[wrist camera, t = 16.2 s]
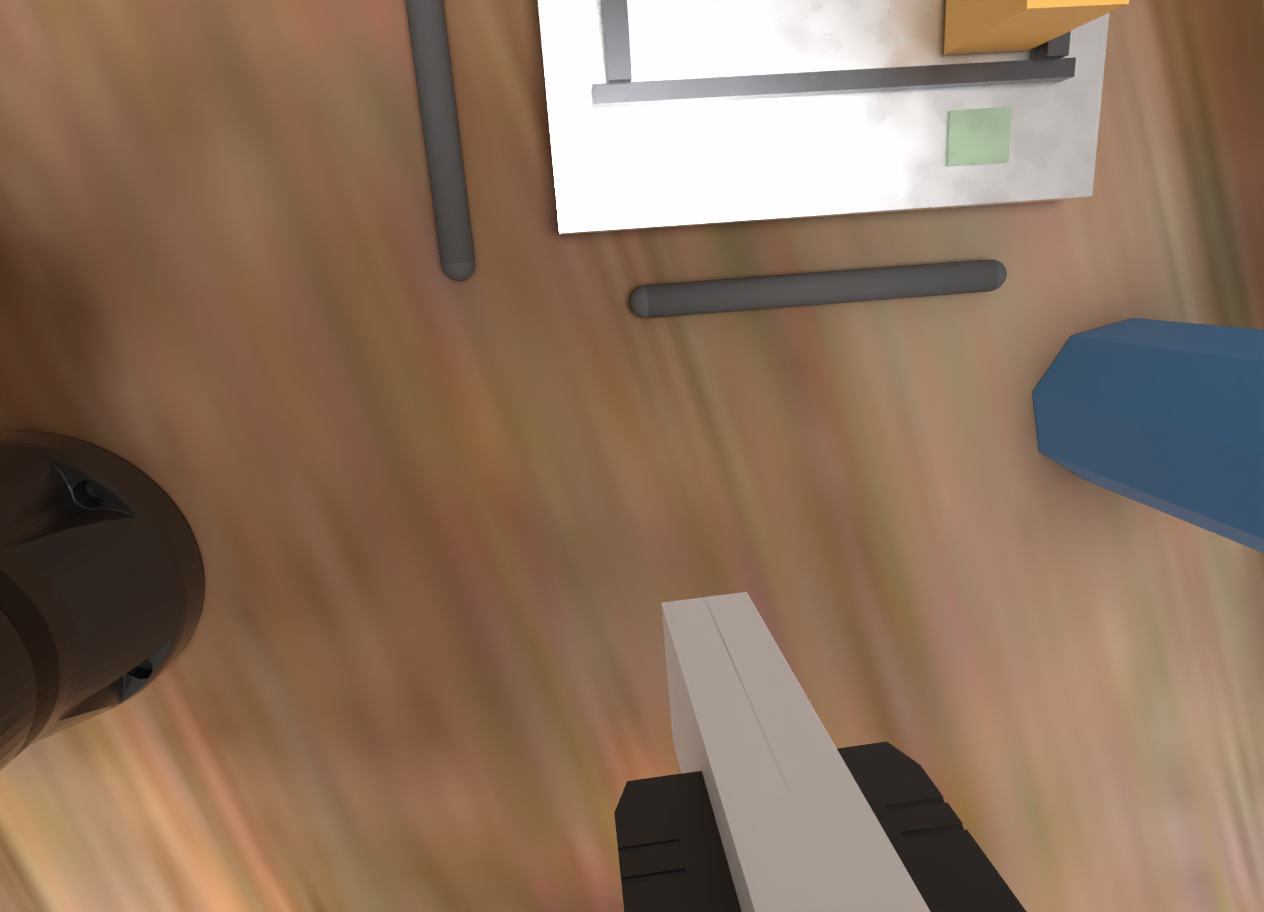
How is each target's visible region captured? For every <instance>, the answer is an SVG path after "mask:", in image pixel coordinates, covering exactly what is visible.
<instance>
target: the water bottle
mask: <svg viewBox="0 0 1264 912" xmlns="http://www.w3.org/2000/svg"><path fill="white" fill-rule="evenodd" d="M1032 394H1033V403H1034V412H1035V421H1036V429H1037V438H1038V447H1039V452H1041V453H1042V454H1044V455H1045V456H1047V457H1049V458H1050V459H1052V460H1054V461H1055V462H1057V463H1058V464H1060V465H1062V466H1063V467H1065V468H1066V469H1068V470H1070V471H1071V472H1073V473H1074V474H1076V475H1078V476H1079V477H1081V478H1083V479H1084V480H1086V481H1089V482H1091V483H1094V484H1096V485H1098V486H1101V487H1103V488H1106V489H1108V490H1111V491H1113V492H1116V493H1118V494H1120V495H1123V496H1125V497H1128V498H1130V499H1133V500H1135V501H1138V502H1140V503H1142V504H1145V505H1147V506H1150V507H1152V508H1155V509H1157V510H1160V511H1162V512H1164V513H1167V514H1169V515H1172V516H1174V517H1177V518H1179V519H1182V520H1184V521H1186V522H1189V523H1191V524H1194V525H1196V526H1199V527H1201V528H1204V529H1206V530H1208V531H1211V532H1213V533H1216V534H1218V535H1221V536H1223V537H1226V538H1228V539H1230V540H1233V541H1235V542H1238V543H1240V544H1243V545H1245V546H1248V547H1250V548H1252V549H1255V550H1257V551H1260V552H1262V553H1264V330H1259V329H1248V328H1237V327H1226V326H1215V325H1204V324H1192V323H1181V322H1170V321H1159V320H1148V319H1137V318H1132V319H1128V320H1125V321H1121V322H1118V323H1114V324H1111V325H1107V326H1104V327H1100V328H1097V329H1093V330H1090V331H1086V332H1083V333H1079V334H1076V335H1072V336H1071V337H1070V338H1069V340H1068V341H1067V342H1066V344H1065V345H1064V347H1063V348H1062V350H1061V351H1060V353H1059V354H1058V355H1057V357H1056V358H1055V360H1054V361H1053V363H1052V364H1051V366H1050V367H1049V369H1048V370H1047V371H1046V373H1045V374H1044V376H1043V377H1042V379H1041V380H1040V382H1039V383H1038V385H1037V386H1036V387H1035V389H1034V390H1033V392H1032Z"/></svg>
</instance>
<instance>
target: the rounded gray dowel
mask: <svg viewBox="0 0 1264 912" xmlns="http://www.w3.org/2000/svg"><path fill="white" fill-rule="evenodd" d="M406 6H407V14H408V21H409V29H410V36H411V43H412V51H413V58H414V66H415V73H416V80H417V88H418V95H419V103H420V110H421V117H422V125H423V132H424V140H425V147H426V154H427V162H428V169H429V176H430V184H431V191H432V199H433V206H434V213H435V221H436V228H437V236H438V243H439V250H440V258H441V265H442V269H443V271H444V272H445V274H446V275H447V276H448V277H450V278H452V279H454V280H464V279H467V278H468V277H470V276H471V275H472V273H473V272H474V269H475V257H474V249H473V241H472V233H471V225H470V217H469V209H468V201H467V192H466V184H465V176H464V168H463V160H462V152H461V144H460V136H459V128H458V119H457V111H456V103H455V95H454V87H453V79H452V71H451V63H450V54H449V46H448V38H447V30H446V22H445V14H444V6H443V0H406Z"/></svg>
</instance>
